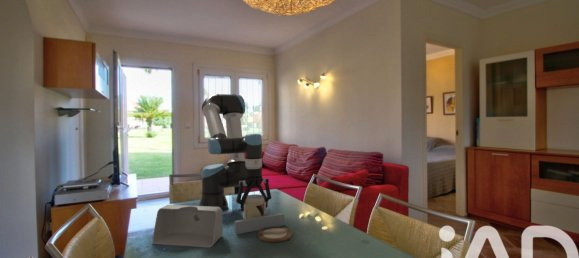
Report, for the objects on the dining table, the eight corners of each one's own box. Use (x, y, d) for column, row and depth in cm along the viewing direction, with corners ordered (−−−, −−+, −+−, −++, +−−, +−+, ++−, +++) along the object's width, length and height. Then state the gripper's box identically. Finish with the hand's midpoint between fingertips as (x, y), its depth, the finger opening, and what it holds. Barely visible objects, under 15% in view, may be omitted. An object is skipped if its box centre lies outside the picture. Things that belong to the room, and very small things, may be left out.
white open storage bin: (228, 230, 118) (228, 202, 118) (212, 247, 102) (212, 214, 102) (174, 227, 122) (174, 199, 122) (151, 243, 106) (150, 211, 106)
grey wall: (234, 232, 116) (234, 220, 116) (282, 223, 125) (282, 212, 125) (236, 234, 114) (235, 222, 114) (284, 225, 123) (284, 214, 123)
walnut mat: (252, 232, 116) (252, 229, 116) (283, 226, 122) (283, 224, 122) (264, 245, 103) (264, 243, 103) (297, 238, 110) (297, 236, 109)
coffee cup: (261, 227, 121) (260, 200, 121) (241, 225, 123) (240, 199, 123) (267, 219, 130) (266, 194, 130) (248, 218, 132) (247, 193, 132)
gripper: (232, 171, 118) (233, 223, 119) (278, 166, 127) (279, 215, 128) (228, 168, 125) (229, 217, 125) (272, 164, 134) (273, 210, 135)
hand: (254, 216), depth 127 cm, fingers closed on coffee cup, 9 cm apart
